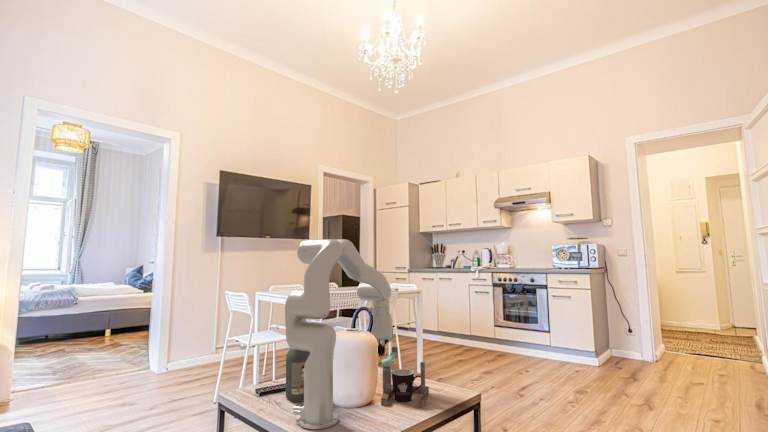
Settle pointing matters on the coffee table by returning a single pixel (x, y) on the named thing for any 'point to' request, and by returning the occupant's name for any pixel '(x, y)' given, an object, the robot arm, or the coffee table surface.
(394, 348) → the clip
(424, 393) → the dock
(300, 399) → the liquor
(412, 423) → the coffee table surface
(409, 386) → the coffee mug
